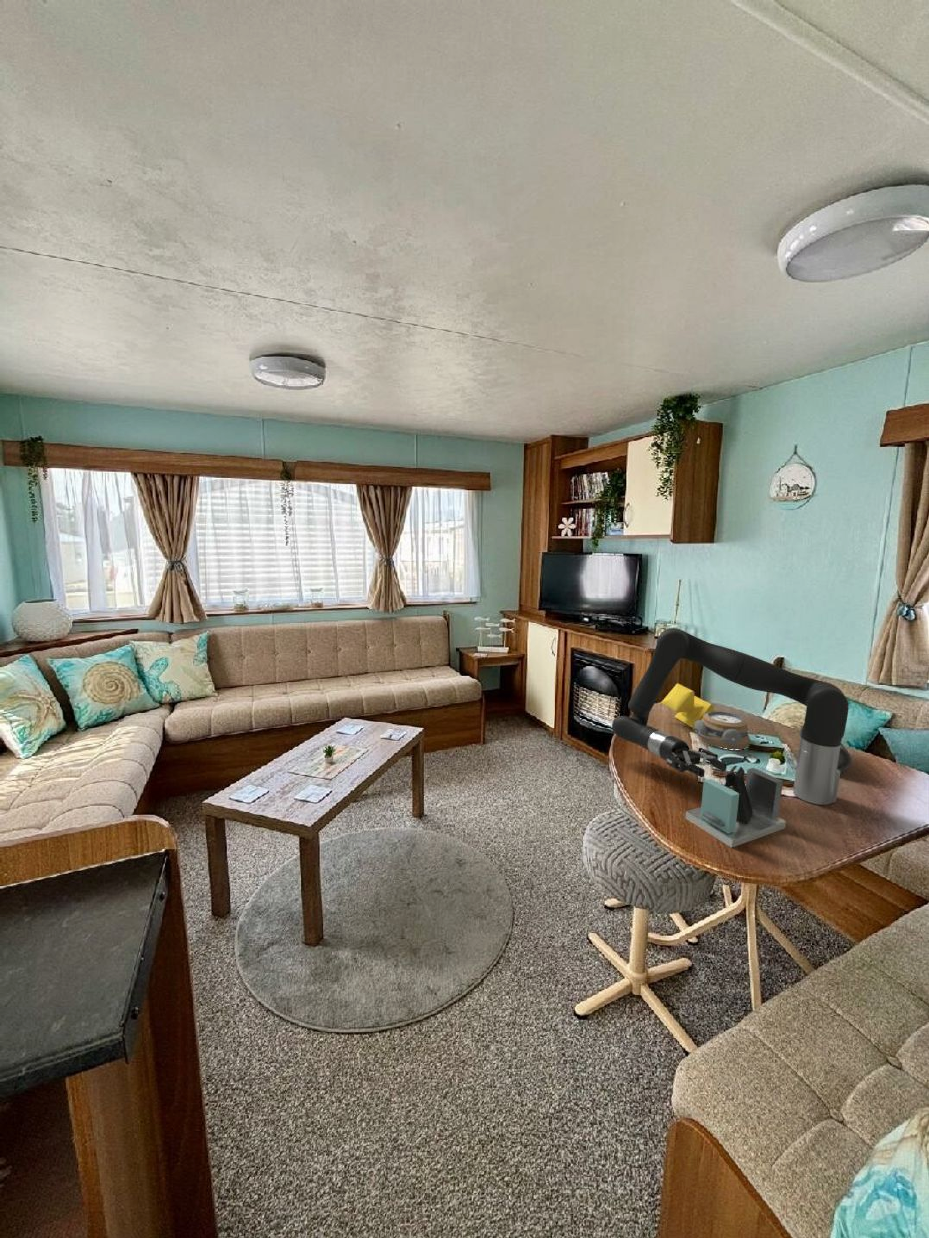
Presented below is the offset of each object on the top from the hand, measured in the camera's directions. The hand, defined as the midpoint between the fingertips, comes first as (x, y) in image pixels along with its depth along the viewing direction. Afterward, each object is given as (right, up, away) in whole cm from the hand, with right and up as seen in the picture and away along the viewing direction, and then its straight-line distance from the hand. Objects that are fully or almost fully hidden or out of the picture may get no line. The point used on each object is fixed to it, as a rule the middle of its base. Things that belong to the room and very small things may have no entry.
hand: (714, 770), depth 133 cm
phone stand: (+2, -10, -4) cm, 11 cm away
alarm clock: (+25, -4, +46) cm, 52 cm away
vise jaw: (-5, -11, -10) cm, 15 cm away
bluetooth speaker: (+53, -7, +33) cm, 62 cm away
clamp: (+26, -1, +65) cm, 70 cm away
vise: (+3, -12, -6) cm, 14 cm away
